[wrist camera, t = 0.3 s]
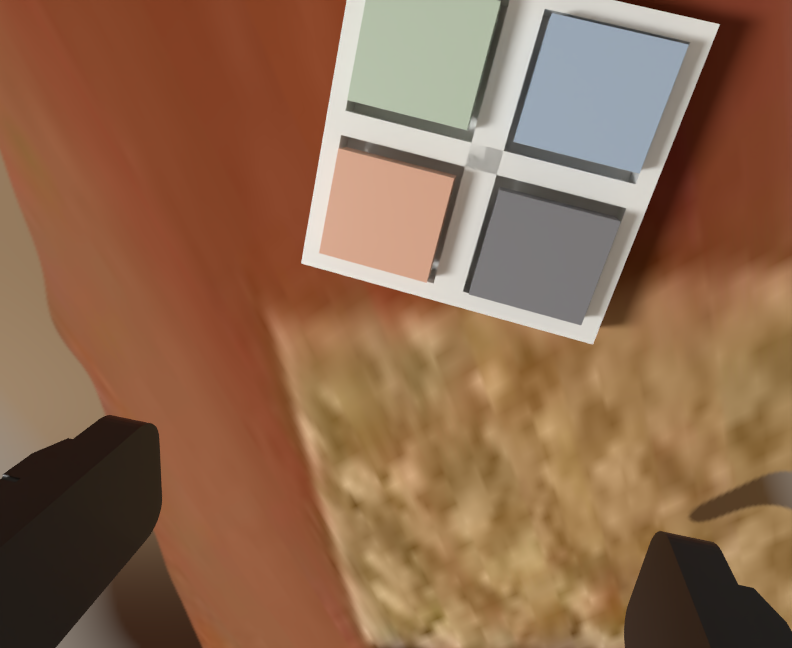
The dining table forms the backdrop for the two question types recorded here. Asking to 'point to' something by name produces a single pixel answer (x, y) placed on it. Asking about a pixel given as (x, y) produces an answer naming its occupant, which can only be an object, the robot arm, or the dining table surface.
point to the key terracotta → (385, 213)
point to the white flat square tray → (504, 154)
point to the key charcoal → (543, 255)
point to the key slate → (598, 92)
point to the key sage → (424, 57)
